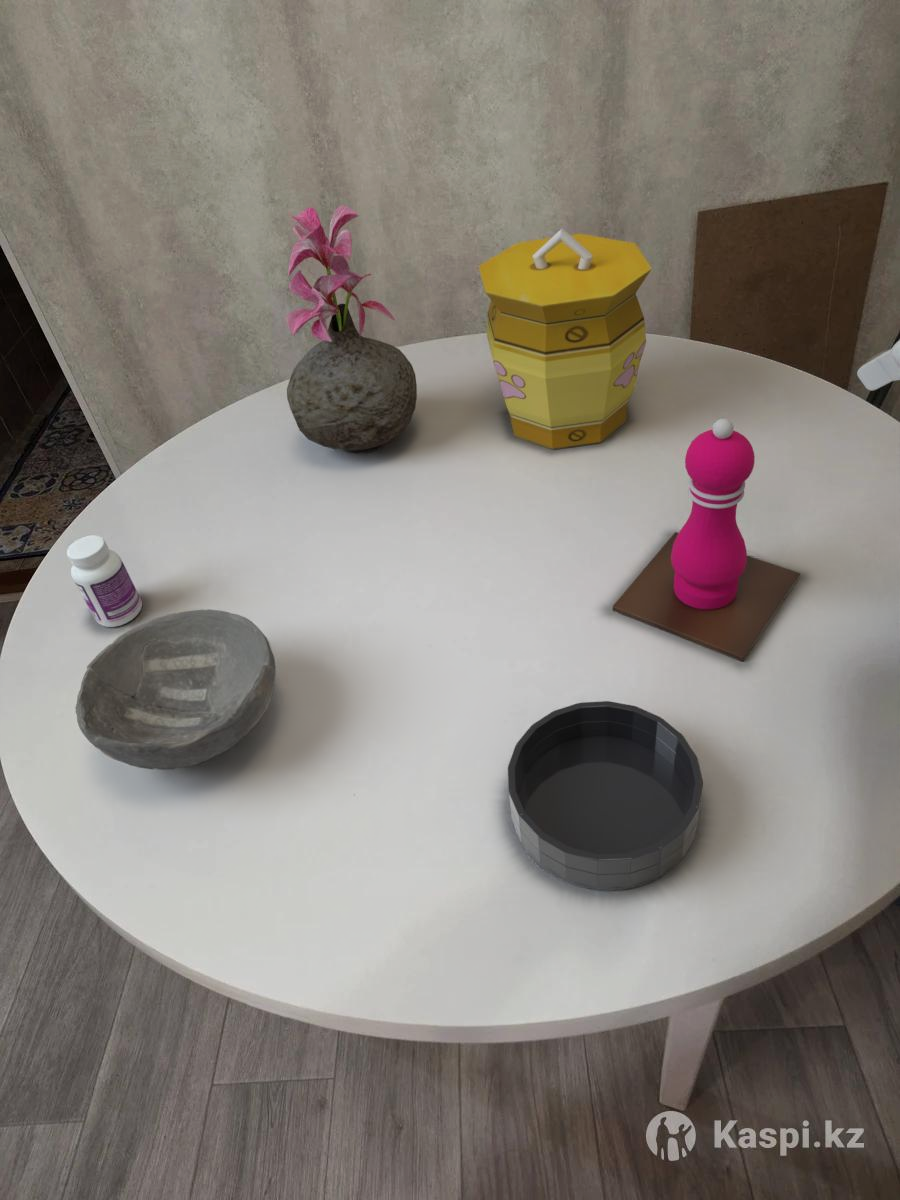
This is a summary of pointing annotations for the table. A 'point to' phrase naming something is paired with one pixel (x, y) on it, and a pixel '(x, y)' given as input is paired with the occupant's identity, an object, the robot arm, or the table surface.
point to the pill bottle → (103, 581)
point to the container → (566, 335)
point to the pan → (604, 795)
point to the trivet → (714, 628)
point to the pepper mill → (713, 519)
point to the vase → (343, 352)
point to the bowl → (177, 689)
